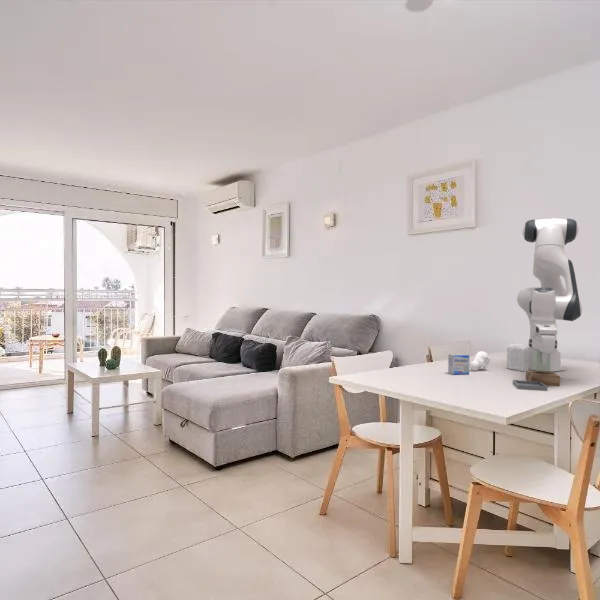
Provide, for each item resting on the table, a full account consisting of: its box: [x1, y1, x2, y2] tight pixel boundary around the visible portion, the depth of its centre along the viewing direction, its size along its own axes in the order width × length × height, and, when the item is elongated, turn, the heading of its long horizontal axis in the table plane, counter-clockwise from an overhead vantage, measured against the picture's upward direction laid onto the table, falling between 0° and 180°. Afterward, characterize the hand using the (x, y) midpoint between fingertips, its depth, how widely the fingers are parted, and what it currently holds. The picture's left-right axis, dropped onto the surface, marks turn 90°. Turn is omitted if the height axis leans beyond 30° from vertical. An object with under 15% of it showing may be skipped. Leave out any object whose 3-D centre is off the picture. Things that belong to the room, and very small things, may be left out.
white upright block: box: [506, 343, 530, 373], centre depth 214 cm, size 10×4×12 cm, turn 28°
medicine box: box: [447, 353, 470, 376], centre depth 202 cm, size 8×4×9 cm, turn 101°
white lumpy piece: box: [469, 350, 491, 372], centre depth 213 cm, size 6×8×12 cm
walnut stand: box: [525, 369, 561, 387], centre depth 184 cm, size 10×10×4 cm
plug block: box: [533, 349, 551, 372], centre depth 184 cm, size 5×5×8 cm
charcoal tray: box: [512, 379, 549, 392], centre depth 175 cm, size 10×10×2 cm
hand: (541, 362), depth 184 cm, fingers closed on plug block, 5 cm apart
